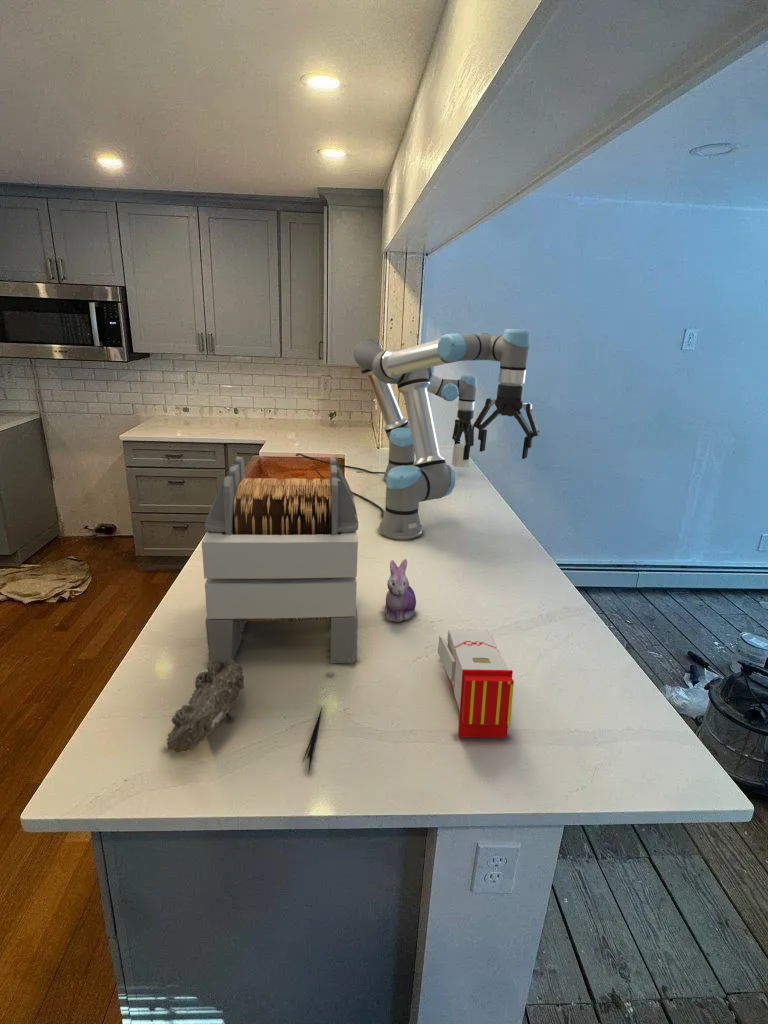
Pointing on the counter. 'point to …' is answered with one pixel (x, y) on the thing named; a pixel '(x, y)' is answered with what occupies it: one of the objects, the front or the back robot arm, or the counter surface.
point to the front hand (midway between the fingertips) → (502, 454)
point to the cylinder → (459, 456)
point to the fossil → (206, 705)
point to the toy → (478, 682)
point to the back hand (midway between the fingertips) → (461, 457)
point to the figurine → (399, 594)
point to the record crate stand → (281, 558)
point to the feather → (313, 740)
